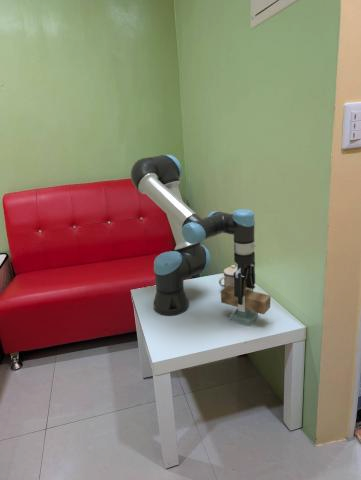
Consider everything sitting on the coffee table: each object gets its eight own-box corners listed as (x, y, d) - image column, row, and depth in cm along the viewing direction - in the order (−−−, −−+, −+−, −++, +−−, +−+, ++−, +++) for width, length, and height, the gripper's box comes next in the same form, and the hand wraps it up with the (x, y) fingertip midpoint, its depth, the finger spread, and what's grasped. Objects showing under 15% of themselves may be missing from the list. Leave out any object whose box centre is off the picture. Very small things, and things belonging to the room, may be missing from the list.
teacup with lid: (237, 282, 168) (236, 260, 164) (247, 290, 160) (247, 267, 156) (214, 288, 164) (214, 265, 160) (224, 296, 156) (223, 272, 152)
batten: (221, 302, 139) (220, 291, 138) (228, 296, 144) (228, 285, 142) (263, 314, 129) (264, 302, 128) (270, 307, 134) (270, 295, 132)
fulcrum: (230, 320, 138) (230, 306, 136) (239, 310, 144) (239, 297, 142) (249, 325, 133) (249, 311, 131) (258, 315, 140) (258, 302, 138)
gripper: (242, 262, 120) (243, 321, 127) (264, 245, 134) (264, 298, 142) (222, 258, 124) (225, 315, 132) (246, 242, 139) (247, 294, 146)
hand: (245, 306), depth 137 cm, fingers closed on batten, 6 cm apart
